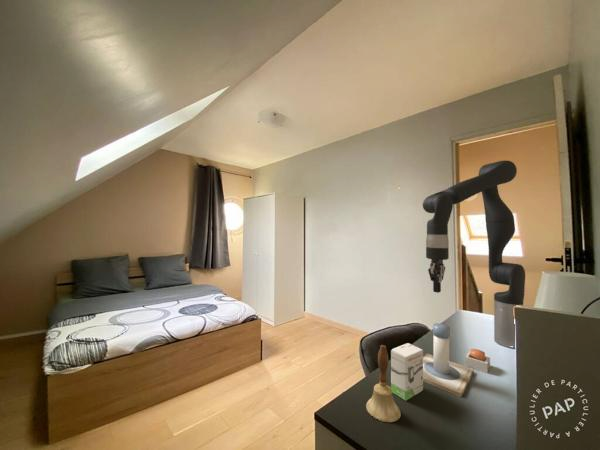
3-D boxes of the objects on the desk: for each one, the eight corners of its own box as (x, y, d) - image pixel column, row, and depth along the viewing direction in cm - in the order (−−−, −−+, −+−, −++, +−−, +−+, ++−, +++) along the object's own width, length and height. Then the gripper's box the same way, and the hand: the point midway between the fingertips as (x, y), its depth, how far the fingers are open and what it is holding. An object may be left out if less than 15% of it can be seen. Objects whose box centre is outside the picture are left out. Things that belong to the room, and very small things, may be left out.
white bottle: (444, 366, 80) (444, 323, 80) (452, 374, 75) (452, 329, 76) (430, 365, 80) (430, 323, 81) (437, 373, 76) (437, 328, 76)
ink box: (406, 401, 65) (406, 357, 65) (390, 391, 69) (390, 349, 69) (423, 390, 69) (423, 348, 70) (407, 381, 73) (407, 342, 74)
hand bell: (359, 402, 64) (360, 341, 64) (385, 396, 67) (386, 337, 67) (379, 426, 56) (380, 356, 57) (408, 418, 59) (408, 351, 59)
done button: (471, 353, 86) (471, 347, 86) (485, 357, 83) (485, 351, 83) (469, 357, 83) (469, 351, 83) (483, 361, 80) (483, 355, 80)
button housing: (469, 359, 87) (468, 350, 87) (490, 366, 83) (490, 357, 83) (465, 365, 83) (465, 356, 83) (487, 373, 78) (487, 363, 79)
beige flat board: (427, 356, 89) (427, 353, 89) (473, 372, 79) (473, 368, 79) (408, 375, 77) (409, 371, 77) (461, 397, 67) (461, 392, 67)
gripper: (443, 247, 85) (443, 297, 85) (452, 246, 95) (452, 291, 94) (420, 246, 91) (420, 293, 90) (432, 245, 100) (431, 287, 100)
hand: (437, 291), depth 92 cm, fingers closed
